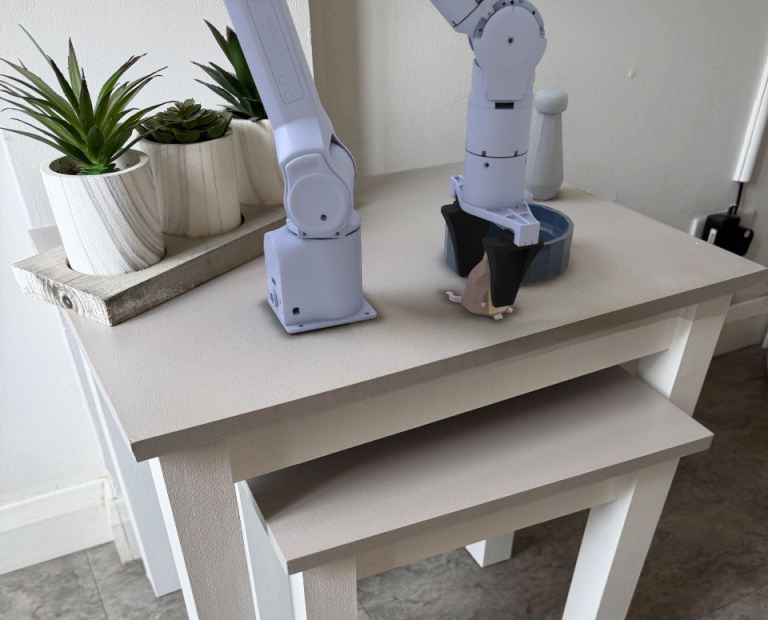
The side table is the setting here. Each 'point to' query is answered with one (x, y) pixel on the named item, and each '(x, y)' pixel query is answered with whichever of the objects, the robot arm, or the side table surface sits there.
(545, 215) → the bowl
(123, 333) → the side table surface
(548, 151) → the salt shaker
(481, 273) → the mouse figurine
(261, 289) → the side table surface
